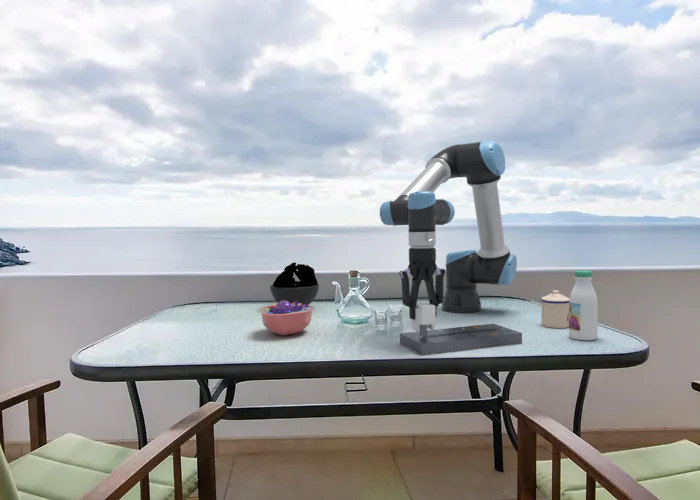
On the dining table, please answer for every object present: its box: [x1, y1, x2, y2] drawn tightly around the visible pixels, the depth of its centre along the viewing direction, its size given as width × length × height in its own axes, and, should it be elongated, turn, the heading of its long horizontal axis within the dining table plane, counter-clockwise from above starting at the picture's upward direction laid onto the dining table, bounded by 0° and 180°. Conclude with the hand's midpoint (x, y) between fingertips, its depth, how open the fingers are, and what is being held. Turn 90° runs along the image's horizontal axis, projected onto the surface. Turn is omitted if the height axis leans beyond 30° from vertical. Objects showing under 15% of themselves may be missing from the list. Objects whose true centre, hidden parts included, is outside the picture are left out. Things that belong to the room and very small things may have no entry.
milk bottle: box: [568, 269, 599, 341], centre depth 150 cm, size 8×8×20 cm
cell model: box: [260, 301, 313, 336], centre depth 165 cm, size 17×20×11 cm
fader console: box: [399, 323, 523, 356], centre depth 147 cm, size 14×32×3 cm, turn 109°
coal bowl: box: [269, 261, 320, 306], centre depth 209 cm, size 20×20×19 cm
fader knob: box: [410, 301, 436, 336], centre depth 143 cm, size 7×4×9 cm, turn 19°
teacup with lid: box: [540, 289, 570, 329], centre depth 169 cm, size 12×9×12 cm
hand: (423, 329), depth 143 cm, fingers closed on fader knob, 4 cm apart
